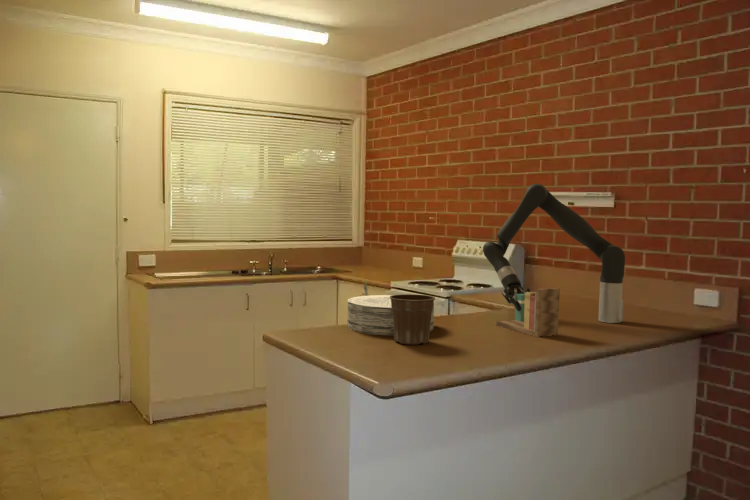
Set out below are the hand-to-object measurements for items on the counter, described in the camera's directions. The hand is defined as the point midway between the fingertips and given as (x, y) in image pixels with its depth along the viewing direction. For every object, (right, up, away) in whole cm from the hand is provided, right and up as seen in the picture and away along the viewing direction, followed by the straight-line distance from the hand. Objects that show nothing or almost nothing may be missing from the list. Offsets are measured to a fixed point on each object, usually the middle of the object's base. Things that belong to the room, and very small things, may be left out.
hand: (525, 309), depth 263 cm
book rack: (-4, -7, -15) cm, 17 cm away
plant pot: (-51, -8, -42) cm, 66 cm away
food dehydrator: (-59, -6, -13) cm, 60 cm away
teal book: (-1, -6, +2) cm, 6 cm away
